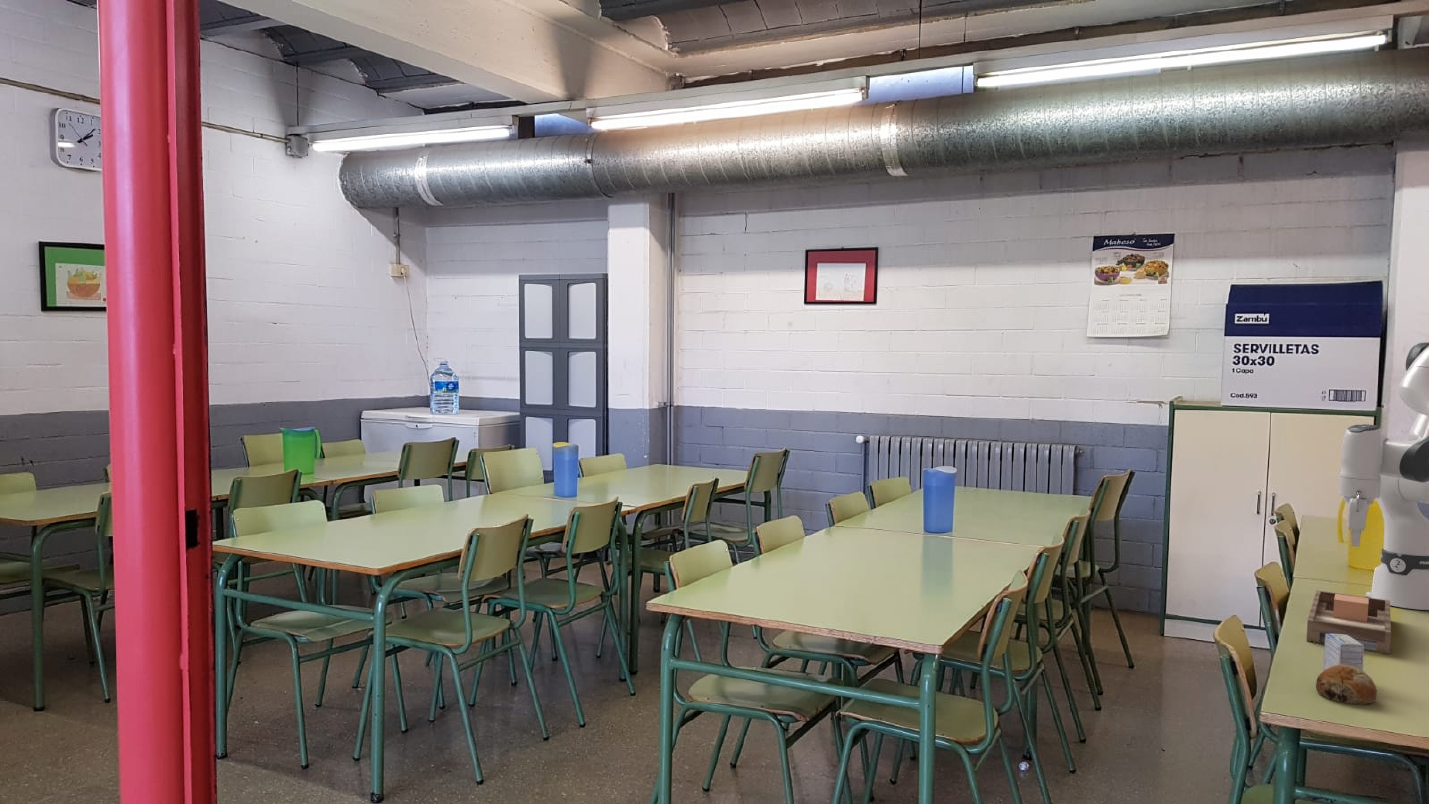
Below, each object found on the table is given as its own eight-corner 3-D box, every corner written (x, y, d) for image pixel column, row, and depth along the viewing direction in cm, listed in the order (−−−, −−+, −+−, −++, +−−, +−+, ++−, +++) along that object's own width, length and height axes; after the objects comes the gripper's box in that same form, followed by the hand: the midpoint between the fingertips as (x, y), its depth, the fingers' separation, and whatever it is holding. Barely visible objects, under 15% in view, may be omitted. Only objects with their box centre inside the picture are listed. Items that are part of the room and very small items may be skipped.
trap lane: (1315, 609, 260) (1316, 590, 260) (1388, 620, 252) (1389, 600, 251) (1306, 641, 231) (1307, 619, 230) (1389, 654, 222) (1390, 632, 221)
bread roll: (1379, 724, 189) (1397, 686, 189) (1338, 703, 187) (1356, 665, 187) (1339, 705, 199) (1356, 669, 199) (1299, 685, 197) (1316, 649, 197)
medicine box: (1362, 688, 199) (1365, 645, 198) (1338, 685, 199) (1340, 643, 199) (1345, 675, 206) (1348, 634, 206) (1322, 673, 207) (1324, 632, 207)
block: (1334, 611, 249) (1335, 593, 248) (1367, 616, 245) (1368, 598, 245) (1333, 617, 243) (1334, 599, 243) (1367, 622, 239) (1368, 604, 239)
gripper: (1374, 495, 239) (1370, 551, 239) (1374, 486, 256) (1370, 539, 257) (1343, 492, 242) (1339, 548, 243) (1345, 484, 259) (1341, 536, 260)
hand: (1355, 543), depth 250 cm, fingers open, 7 cm apart
